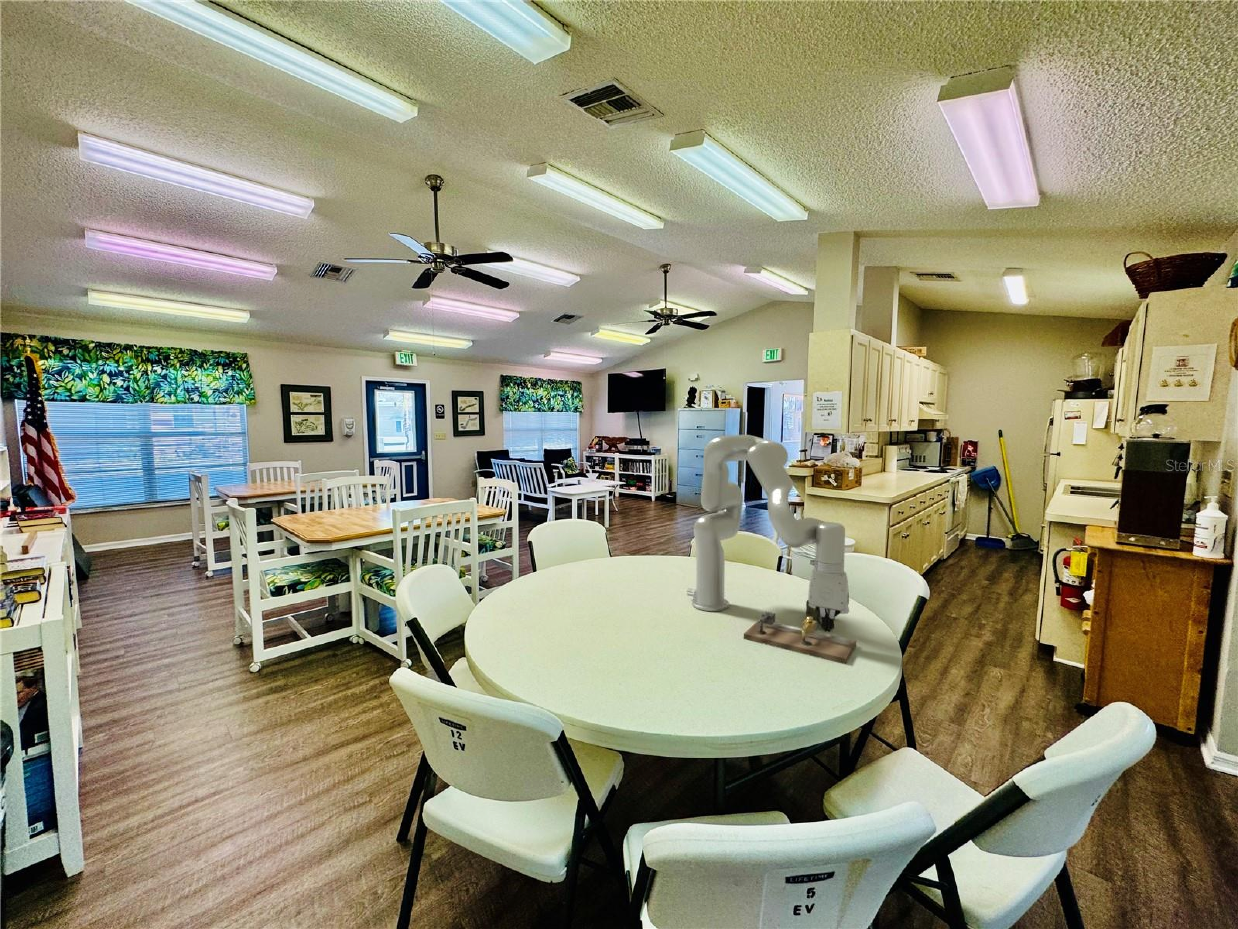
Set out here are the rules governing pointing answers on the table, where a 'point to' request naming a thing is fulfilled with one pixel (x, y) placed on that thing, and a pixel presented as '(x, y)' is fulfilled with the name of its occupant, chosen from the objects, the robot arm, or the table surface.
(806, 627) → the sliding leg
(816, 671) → the table surface
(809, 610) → the sculpture
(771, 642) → the plate
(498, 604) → the table surface
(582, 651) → the table surface
